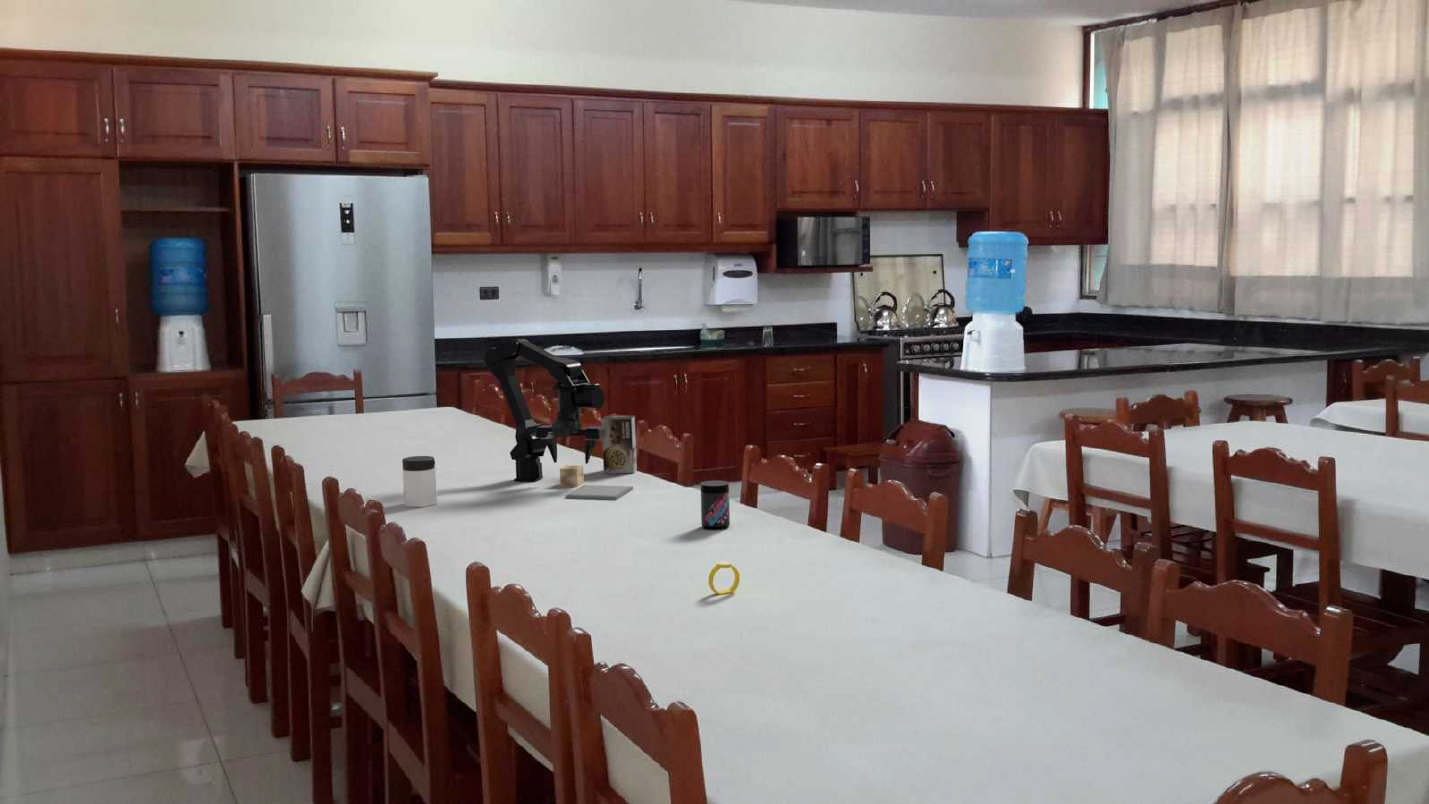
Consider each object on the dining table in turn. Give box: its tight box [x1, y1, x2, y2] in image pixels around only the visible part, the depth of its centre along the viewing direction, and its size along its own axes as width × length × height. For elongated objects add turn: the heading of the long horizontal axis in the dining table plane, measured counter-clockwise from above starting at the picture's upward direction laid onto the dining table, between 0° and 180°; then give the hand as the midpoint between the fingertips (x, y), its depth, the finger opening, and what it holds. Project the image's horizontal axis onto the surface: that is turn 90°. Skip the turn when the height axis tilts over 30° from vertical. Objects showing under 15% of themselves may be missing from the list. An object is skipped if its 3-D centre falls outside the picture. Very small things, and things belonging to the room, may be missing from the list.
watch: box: [708, 560, 741, 596], centre depth 236 cm, size 6×3×6 cm, turn 117°
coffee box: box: [600, 415, 638, 474], centre depth 363 cm, size 9×6×16 cm
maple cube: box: [559, 464, 585, 488], centre depth 345 cm, size 5×5×5 cm
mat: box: [565, 484, 634, 501], centre depth 332 cm, size 14×14×1 cm
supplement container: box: [699, 480, 731, 531], centre depth 290 cm, size 7×7×10 cm
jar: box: [401, 455, 438, 508], centre depth 323 cm, size 9×8×12 cm
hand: (571, 463), depth 345 cm, fingers open, 9 cm apart
